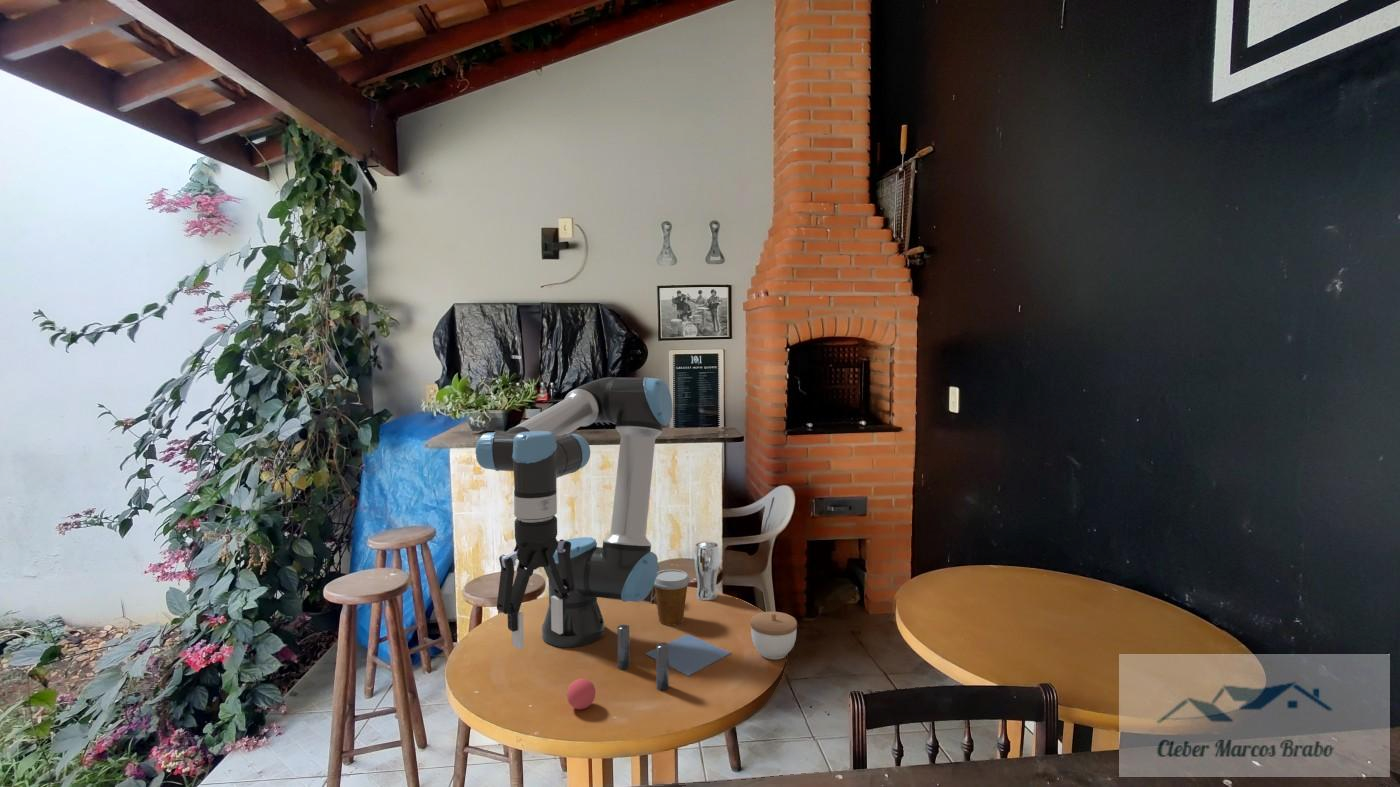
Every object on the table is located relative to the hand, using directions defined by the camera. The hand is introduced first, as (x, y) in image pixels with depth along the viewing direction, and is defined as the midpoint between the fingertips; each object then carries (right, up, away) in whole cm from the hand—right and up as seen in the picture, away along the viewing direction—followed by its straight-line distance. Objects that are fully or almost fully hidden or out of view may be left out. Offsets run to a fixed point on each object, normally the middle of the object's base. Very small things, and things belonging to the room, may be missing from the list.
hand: (538, 638), depth 117 cm
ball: (+7, -14, +8) cm, 17 cm away
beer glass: (+32, -13, +64) cm, 73 cm away
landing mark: (+27, -15, +30) cm, 43 cm away
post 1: (+13, -15, +24) cm, 31 cm away
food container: (+14, -13, +64) cm, 67 cm away
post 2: (+22, -16, +15) cm, 31 cm away
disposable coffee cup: (+22, -14, +48) cm, 55 cm away
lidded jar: (+47, -15, +30) cm, 58 cm away
